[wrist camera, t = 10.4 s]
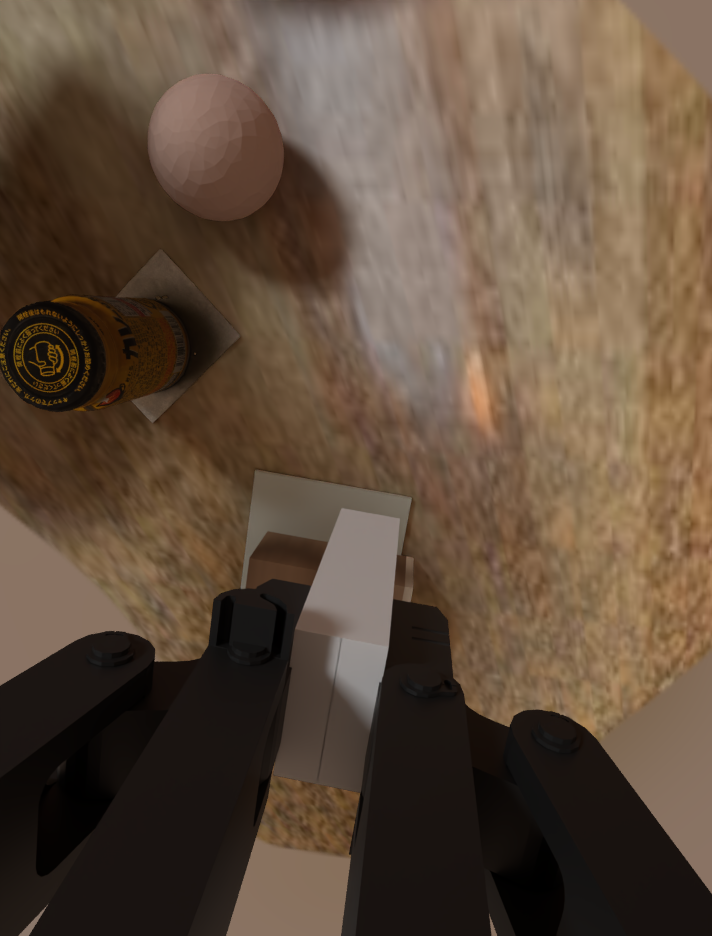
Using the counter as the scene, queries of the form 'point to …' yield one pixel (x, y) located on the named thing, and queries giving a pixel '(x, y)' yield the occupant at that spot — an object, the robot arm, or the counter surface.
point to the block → (308, 563)
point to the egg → (215, 147)
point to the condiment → (115, 344)
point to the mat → (312, 509)
